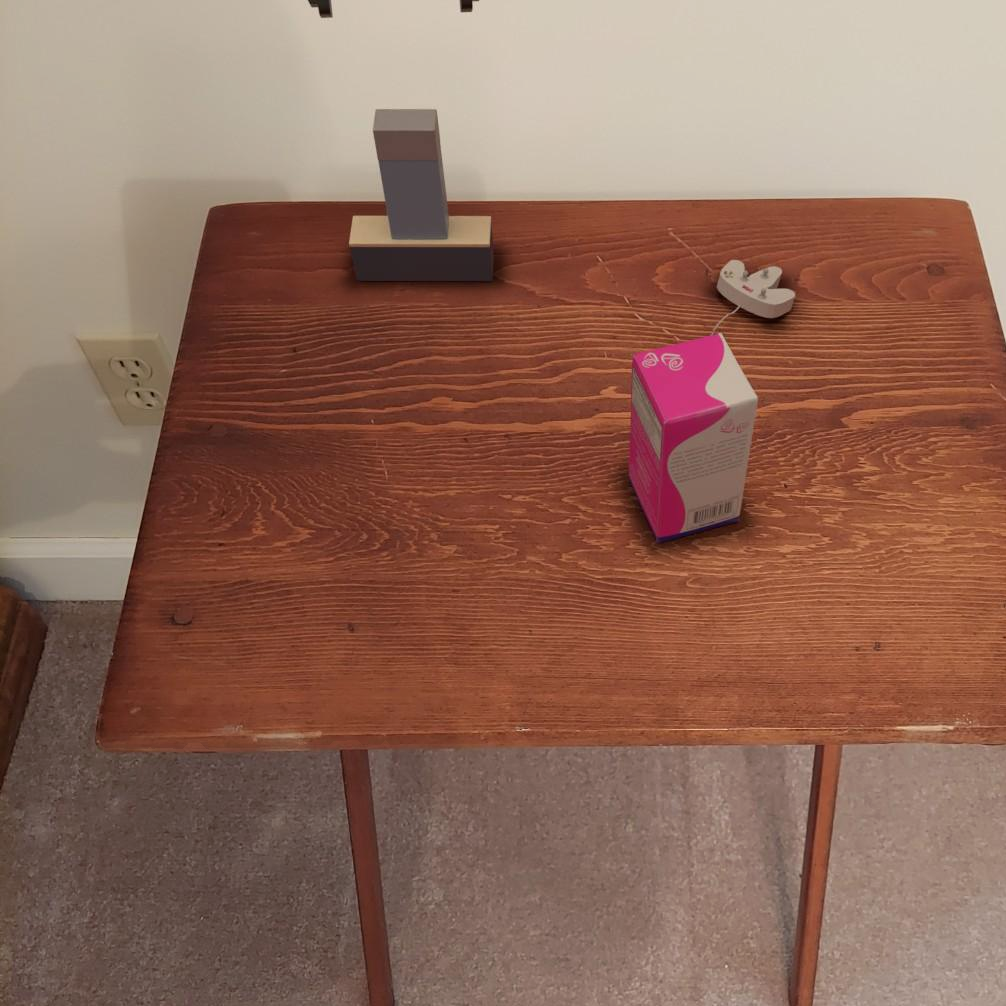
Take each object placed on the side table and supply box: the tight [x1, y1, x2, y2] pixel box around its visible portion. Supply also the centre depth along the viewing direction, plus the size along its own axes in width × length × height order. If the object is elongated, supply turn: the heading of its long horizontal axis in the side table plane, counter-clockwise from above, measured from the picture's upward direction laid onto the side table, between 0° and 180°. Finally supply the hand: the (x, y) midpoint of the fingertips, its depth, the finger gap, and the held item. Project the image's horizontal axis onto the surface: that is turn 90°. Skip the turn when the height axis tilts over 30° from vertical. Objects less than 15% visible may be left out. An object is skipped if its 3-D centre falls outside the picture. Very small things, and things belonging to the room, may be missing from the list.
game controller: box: [710, 259, 796, 335], centre depth 83 cm, size 6×12×3 cm, turn 158°
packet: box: [372, 108, 450, 239], centre depth 81 cm, size 4×2×9 cm, turn 91°
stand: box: [348, 215, 495, 282], centre depth 86 cm, size 10×3×4 cm, turn 91°
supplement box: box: [628, 332, 759, 543], centre depth 71 cm, size 6×6×12 cm
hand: (396, 13), depth 72 cm, fingers open, 8 cm apart
